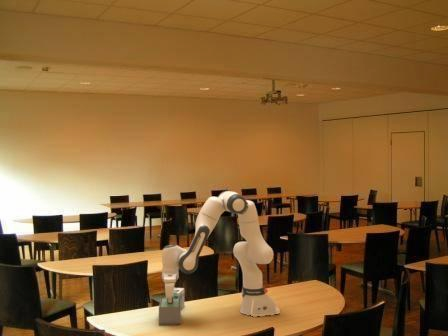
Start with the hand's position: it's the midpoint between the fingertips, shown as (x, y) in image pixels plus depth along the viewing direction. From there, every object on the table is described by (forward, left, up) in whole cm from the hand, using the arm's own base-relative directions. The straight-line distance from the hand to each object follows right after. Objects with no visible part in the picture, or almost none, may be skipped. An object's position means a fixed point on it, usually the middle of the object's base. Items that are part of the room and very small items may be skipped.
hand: (170, 301), depth 242 cm
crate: (0, 0, -10) cm, 10 cm away
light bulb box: (-3, -19, -10) cm, 22 cm away
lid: (0, 0, -2) cm, 2 cm away
